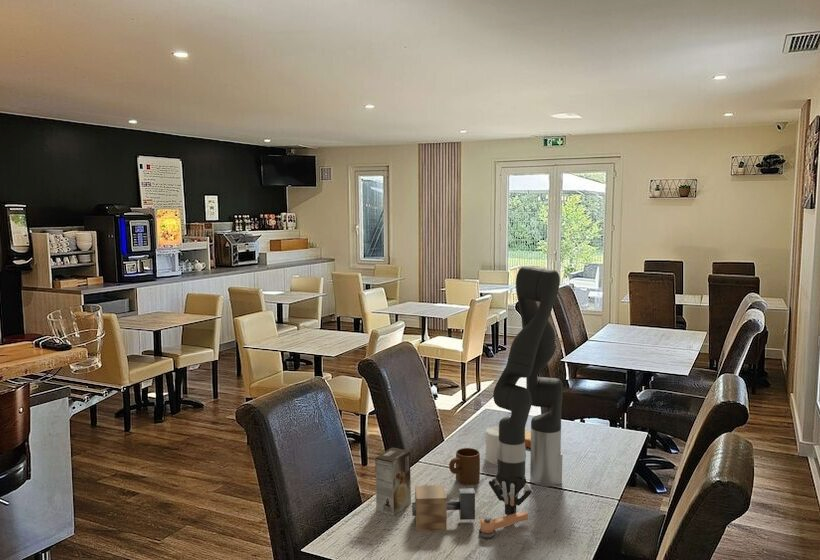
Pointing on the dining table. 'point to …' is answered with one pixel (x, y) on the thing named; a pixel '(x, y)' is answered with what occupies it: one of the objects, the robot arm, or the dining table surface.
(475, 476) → the mug
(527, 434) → the slice of bread
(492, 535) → the dark grey puck
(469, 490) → the dark grey hammer
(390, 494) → the coffee box
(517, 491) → the robot arm
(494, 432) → the toilet tissue
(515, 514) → the latch bar
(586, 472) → the dining table surface
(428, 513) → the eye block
